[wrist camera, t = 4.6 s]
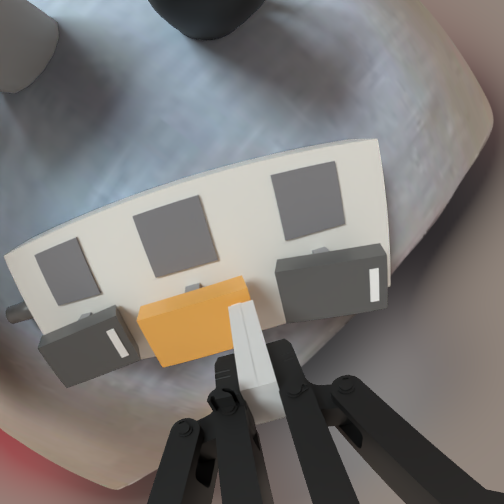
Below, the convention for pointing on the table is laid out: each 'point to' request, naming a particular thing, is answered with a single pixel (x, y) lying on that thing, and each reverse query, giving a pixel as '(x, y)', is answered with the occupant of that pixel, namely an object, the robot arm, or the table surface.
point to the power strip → (204, 236)
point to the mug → (206, 15)
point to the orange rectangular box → (192, 322)
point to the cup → (24, 43)
